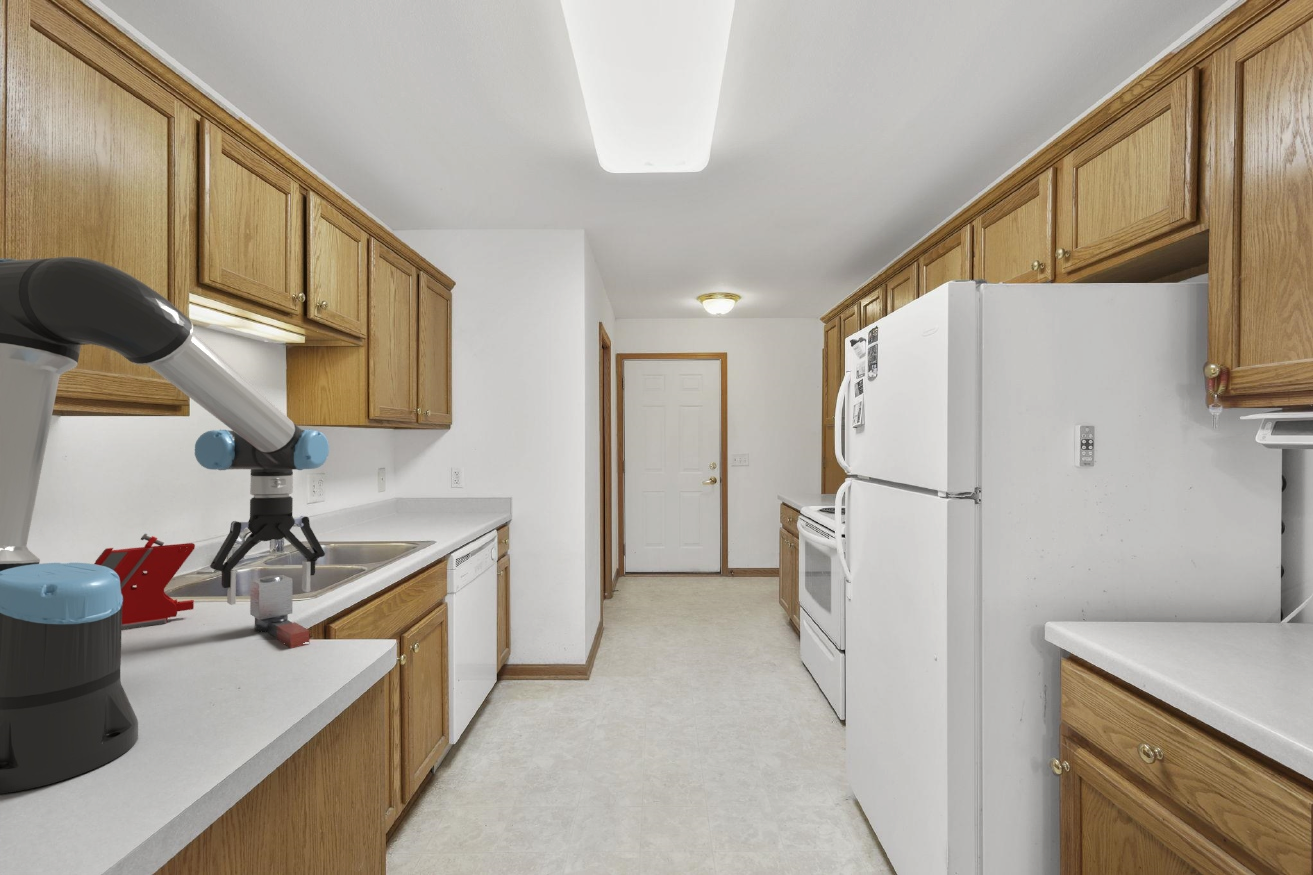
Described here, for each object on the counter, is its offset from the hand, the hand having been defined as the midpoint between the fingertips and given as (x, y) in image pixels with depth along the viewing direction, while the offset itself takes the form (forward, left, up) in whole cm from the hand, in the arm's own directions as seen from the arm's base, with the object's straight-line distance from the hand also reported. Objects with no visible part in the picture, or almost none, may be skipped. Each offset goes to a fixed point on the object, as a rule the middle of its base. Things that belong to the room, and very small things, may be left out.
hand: (270, 597), depth 123 cm
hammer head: (0, 0, -4) cm, 4 cm away
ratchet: (0, -7, -7) cm, 10 cm away
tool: (-22, +25, -7) cm, 34 cm away
